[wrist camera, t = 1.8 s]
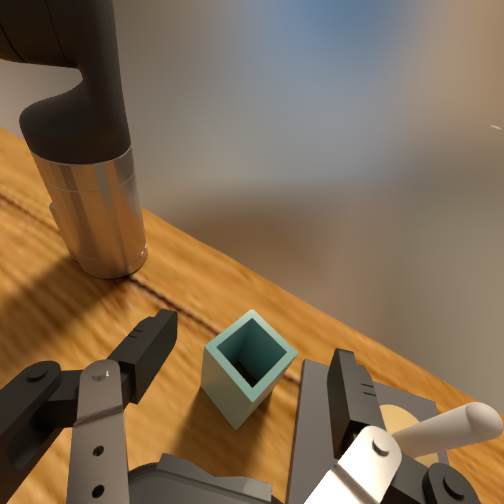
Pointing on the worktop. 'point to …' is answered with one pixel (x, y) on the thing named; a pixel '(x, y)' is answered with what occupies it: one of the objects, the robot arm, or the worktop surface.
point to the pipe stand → (396, 422)
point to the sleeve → (254, 361)
